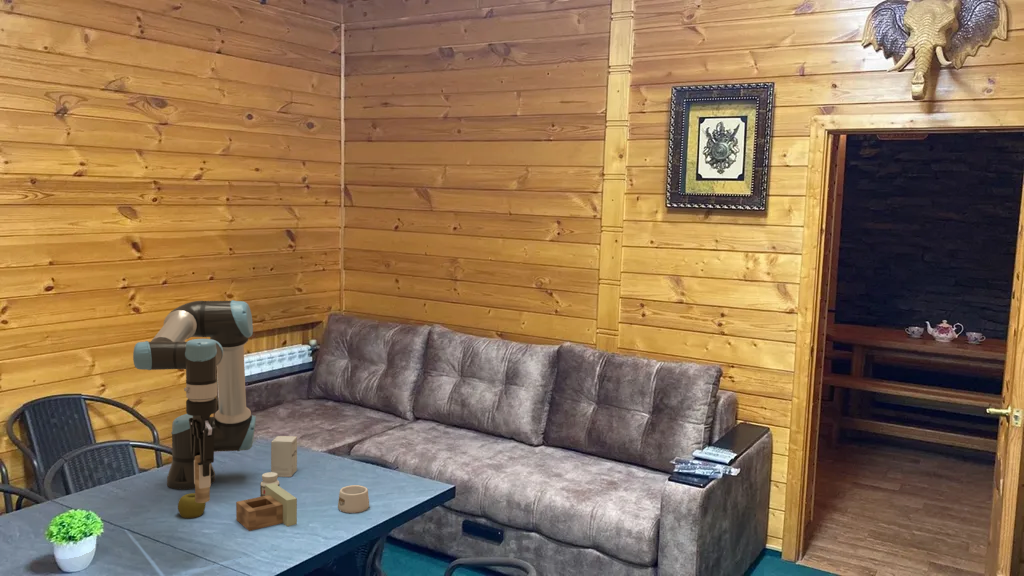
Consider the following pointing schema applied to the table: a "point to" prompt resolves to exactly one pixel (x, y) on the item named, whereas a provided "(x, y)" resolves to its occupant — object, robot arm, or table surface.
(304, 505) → the table surface
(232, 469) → the table surface
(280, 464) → the supplement box
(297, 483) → the table surface
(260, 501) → the block
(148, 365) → the robot arm
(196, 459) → the dowel
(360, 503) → the beige pet bowl
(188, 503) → the apple
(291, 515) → the board wall
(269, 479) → the pill bottle
